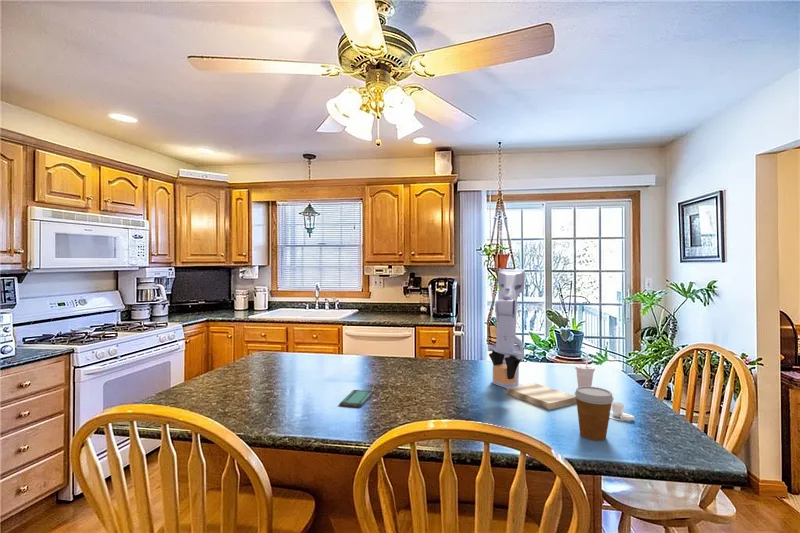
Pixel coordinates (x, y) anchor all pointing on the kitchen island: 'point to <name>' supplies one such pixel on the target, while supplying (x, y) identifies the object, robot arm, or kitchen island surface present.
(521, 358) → the robot arm
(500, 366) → the block
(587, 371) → the smoothie
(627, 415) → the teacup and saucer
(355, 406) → the smartphone
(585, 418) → the disposable coffee cup
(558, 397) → the base board
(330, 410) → the kitchen island surface
